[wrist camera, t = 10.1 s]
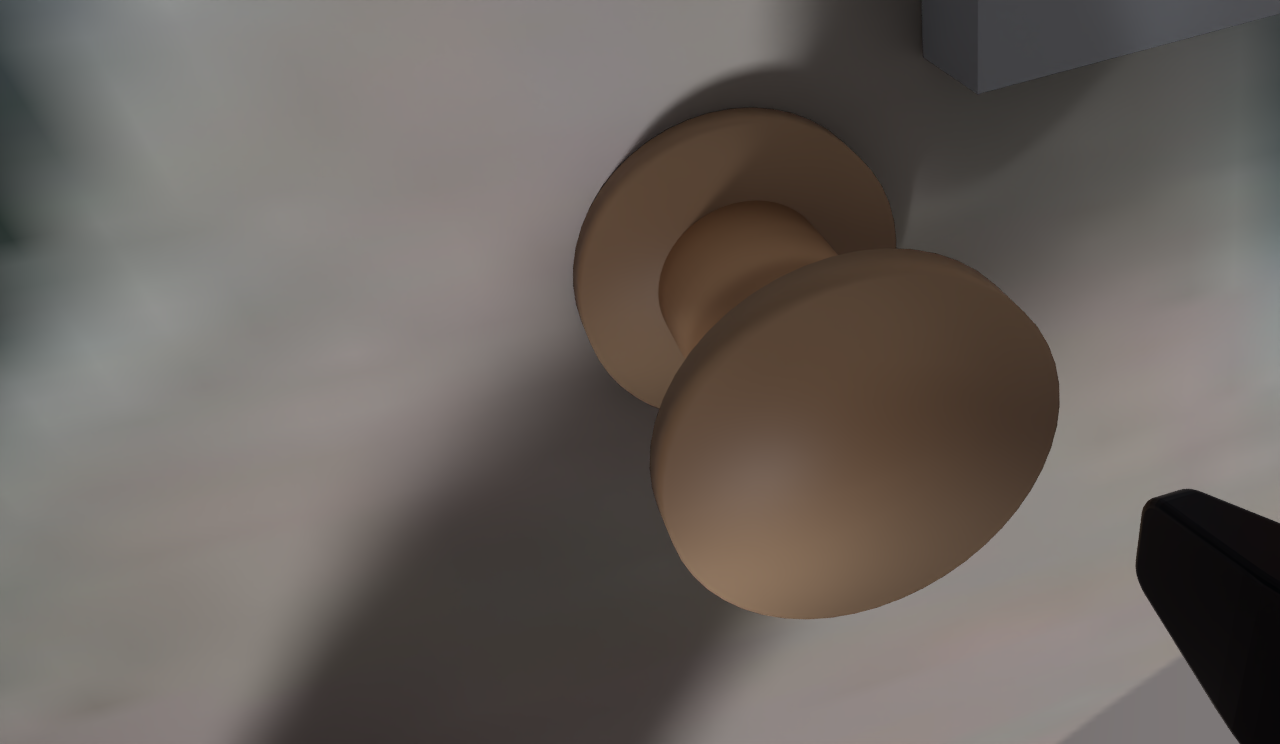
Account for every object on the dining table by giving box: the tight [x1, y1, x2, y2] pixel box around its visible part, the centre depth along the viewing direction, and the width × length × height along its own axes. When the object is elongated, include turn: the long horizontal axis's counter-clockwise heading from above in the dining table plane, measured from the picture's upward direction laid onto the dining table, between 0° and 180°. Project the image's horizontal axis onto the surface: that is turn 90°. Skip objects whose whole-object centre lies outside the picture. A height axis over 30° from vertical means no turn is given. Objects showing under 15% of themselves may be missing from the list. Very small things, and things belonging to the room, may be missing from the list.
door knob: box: [573, 107, 1059, 619], centre depth 19 cm, size 6×6×6 cm
